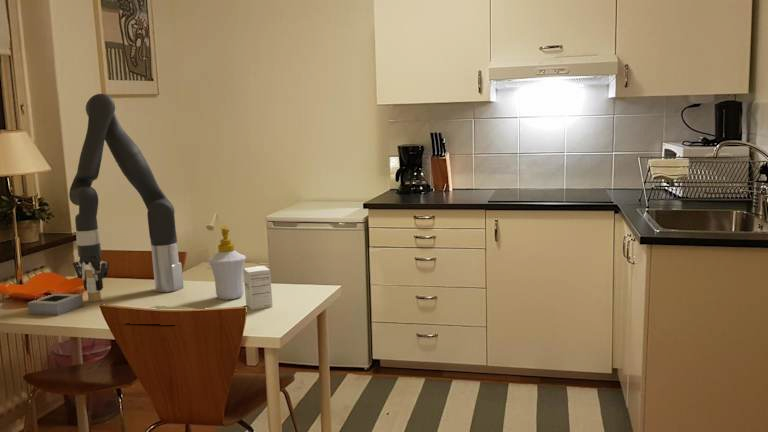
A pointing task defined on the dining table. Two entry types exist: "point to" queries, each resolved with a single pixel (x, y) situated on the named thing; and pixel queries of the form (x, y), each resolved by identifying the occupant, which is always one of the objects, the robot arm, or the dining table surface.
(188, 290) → the dining table surface
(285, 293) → the dining table surface
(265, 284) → the supplement box
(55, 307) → the shallow gray tray
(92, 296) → the sprinkles bottle
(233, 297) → the soap bottle
